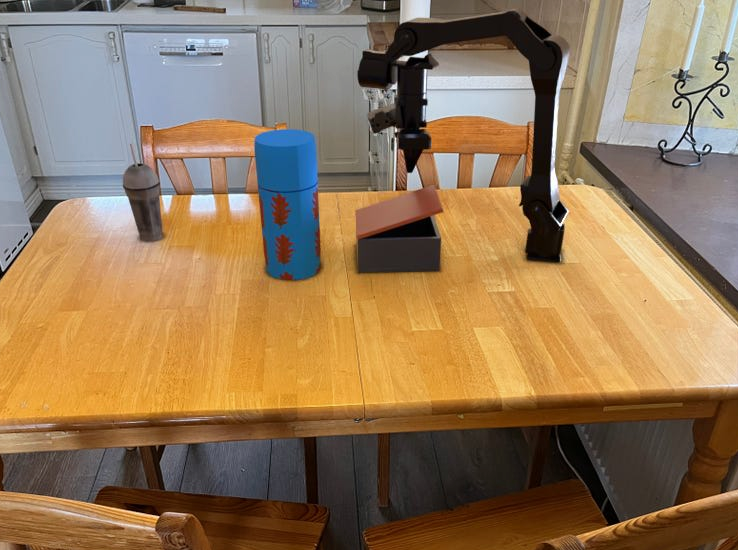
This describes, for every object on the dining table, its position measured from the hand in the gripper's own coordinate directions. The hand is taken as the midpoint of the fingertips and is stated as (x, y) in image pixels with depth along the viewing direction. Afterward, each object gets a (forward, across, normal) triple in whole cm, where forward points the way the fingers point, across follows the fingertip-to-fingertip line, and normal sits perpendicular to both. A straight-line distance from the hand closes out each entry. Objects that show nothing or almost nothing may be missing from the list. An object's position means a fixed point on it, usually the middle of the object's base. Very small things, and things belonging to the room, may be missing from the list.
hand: (409, 171), depth 140 cm
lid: (+4, +13, -3) cm, 14 cm away
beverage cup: (+13, 0, -54) cm, 56 cm away
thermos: (+13, +16, -24) cm, 32 cm away
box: (+13, +13, -3) cm, 19 cm away
